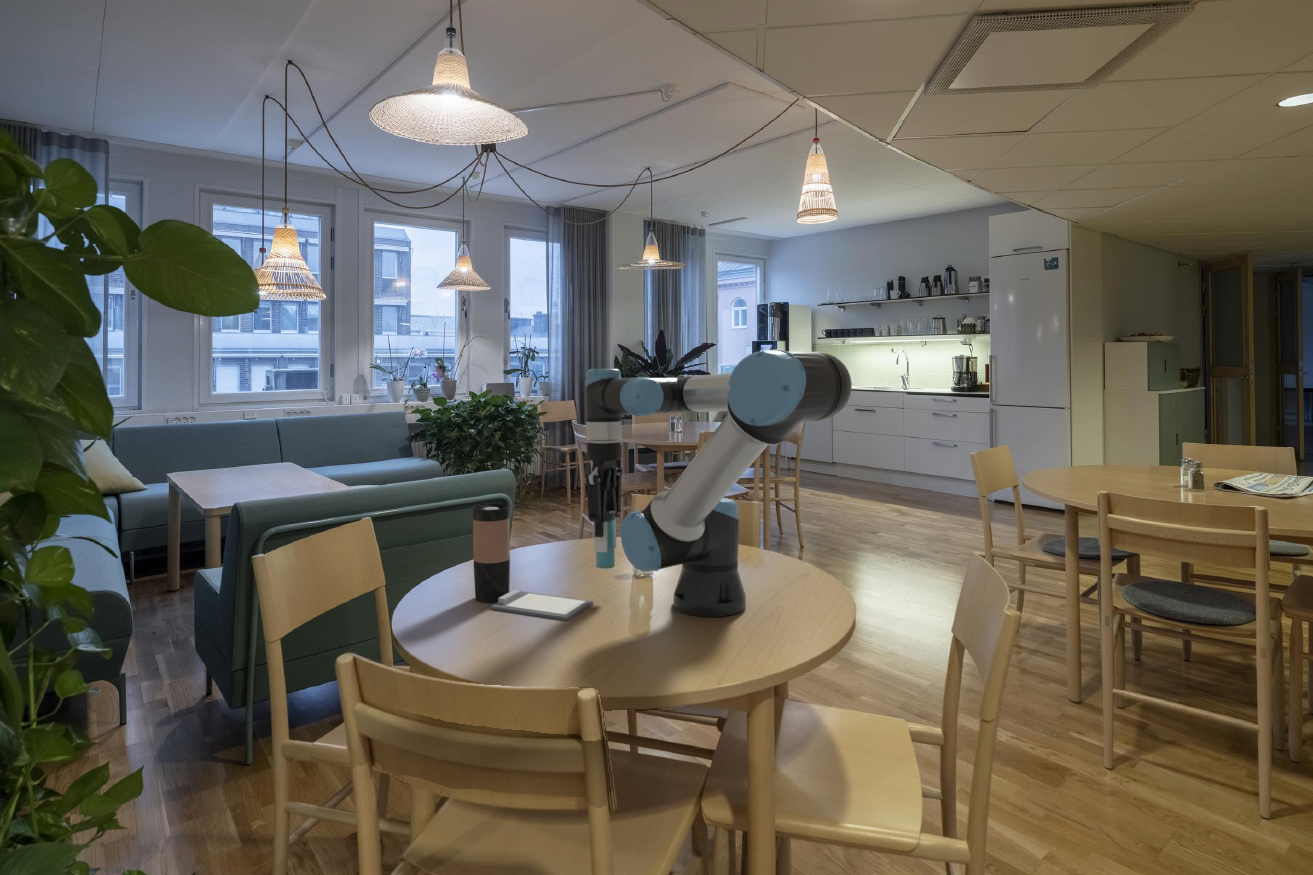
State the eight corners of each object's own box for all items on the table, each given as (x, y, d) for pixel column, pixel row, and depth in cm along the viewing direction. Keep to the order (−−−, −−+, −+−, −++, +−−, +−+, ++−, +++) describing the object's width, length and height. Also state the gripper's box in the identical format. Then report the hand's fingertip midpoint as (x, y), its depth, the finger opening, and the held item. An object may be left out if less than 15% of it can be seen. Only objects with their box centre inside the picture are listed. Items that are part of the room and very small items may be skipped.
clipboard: (592, 603, 155) (592, 596, 154) (567, 620, 144) (567, 612, 144) (519, 593, 161) (519, 586, 161) (490, 608, 151) (490, 601, 151)
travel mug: (501, 604, 154) (500, 510, 152) (467, 602, 155) (466, 509, 153) (515, 593, 161) (514, 504, 159) (483, 591, 163) (482, 502, 161)
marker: (618, 564, 160) (618, 510, 159) (610, 569, 156) (609, 513, 155) (600, 562, 161) (600, 509, 160) (592, 567, 157) (591, 512, 156)
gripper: (605, 437, 165) (606, 540, 167) (569, 444, 150) (571, 556, 152) (635, 438, 163) (636, 542, 165) (602, 445, 147) (604, 559, 149)
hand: (605, 549), depth 158 cm, fingers closed on marker, 4 cm apart
